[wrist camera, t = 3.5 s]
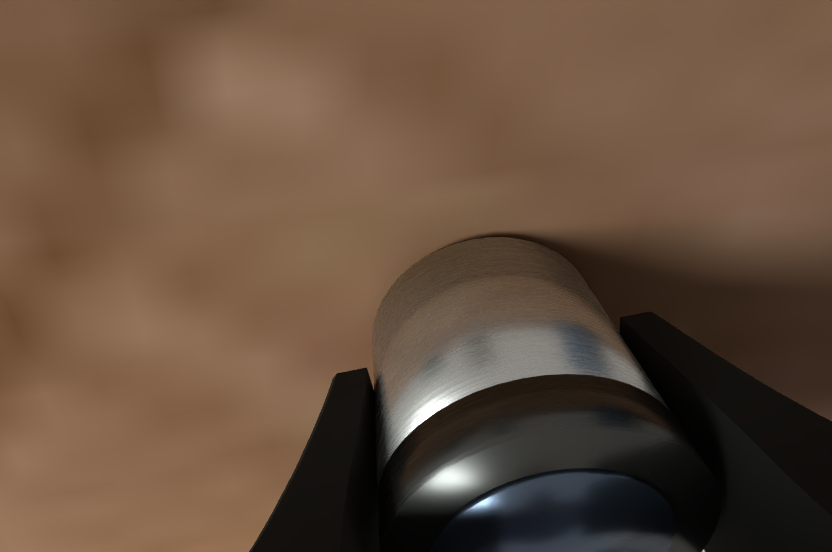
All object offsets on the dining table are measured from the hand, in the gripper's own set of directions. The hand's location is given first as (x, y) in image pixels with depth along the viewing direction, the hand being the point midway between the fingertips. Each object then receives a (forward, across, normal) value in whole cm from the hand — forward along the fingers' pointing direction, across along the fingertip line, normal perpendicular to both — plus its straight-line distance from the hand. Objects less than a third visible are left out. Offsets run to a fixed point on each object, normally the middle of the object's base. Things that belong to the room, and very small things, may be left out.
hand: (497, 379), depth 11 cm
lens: (+1, 0, 0) cm, 1 cm away
